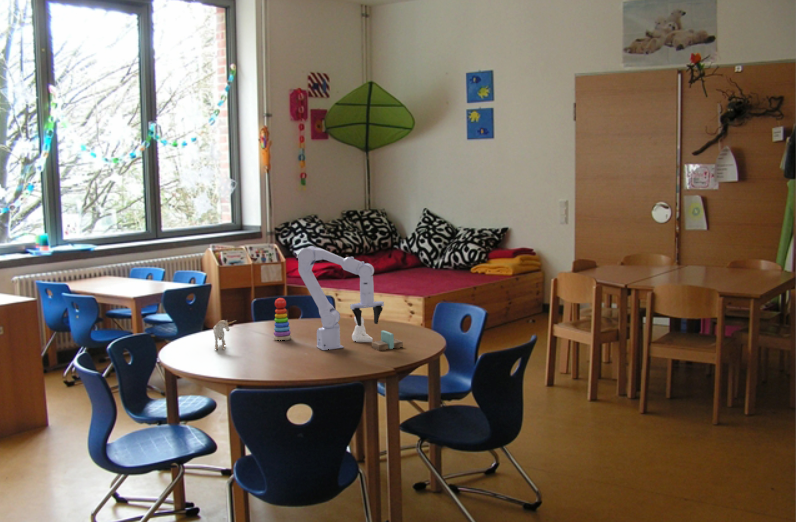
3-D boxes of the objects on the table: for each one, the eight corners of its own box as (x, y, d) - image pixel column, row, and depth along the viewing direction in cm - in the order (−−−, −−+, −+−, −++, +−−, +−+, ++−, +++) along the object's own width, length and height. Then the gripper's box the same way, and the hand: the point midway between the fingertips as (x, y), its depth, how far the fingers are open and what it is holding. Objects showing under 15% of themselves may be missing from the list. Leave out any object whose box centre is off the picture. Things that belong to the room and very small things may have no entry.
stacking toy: (293, 337, 342) (291, 296, 340) (289, 341, 334) (287, 299, 332) (276, 337, 343) (274, 296, 341) (271, 341, 335) (269, 299, 333)
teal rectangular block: (390, 348, 313) (390, 334, 313) (381, 344, 321) (380, 330, 321) (393, 348, 314) (393, 334, 313) (384, 344, 322) (384, 330, 321)
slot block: (378, 350, 312) (378, 344, 312) (371, 347, 318) (371, 341, 318) (403, 347, 317) (402, 341, 317) (395, 344, 323) (395, 338, 323)
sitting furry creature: (373, 342, 329) (373, 315, 328) (354, 344, 326) (353, 316, 325) (368, 338, 338) (367, 311, 336) (349, 339, 335) (348, 313, 334)
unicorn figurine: (221, 354, 313) (219, 322, 311) (205, 346, 329) (203, 315, 327) (237, 351, 316) (236, 320, 315) (221, 343, 333) (219, 313, 331)
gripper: (354, 295, 309) (355, 328, 310) (386, 292, 315) (387, 324, 317) (348, 293, 315) (348, 325, 317) (379, 290, 322) (380, 321, 323)
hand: (367, 324), depth 317 cm, fingers open, 7 cm apart
